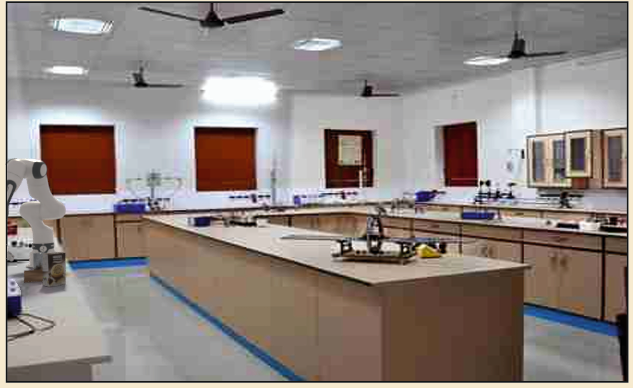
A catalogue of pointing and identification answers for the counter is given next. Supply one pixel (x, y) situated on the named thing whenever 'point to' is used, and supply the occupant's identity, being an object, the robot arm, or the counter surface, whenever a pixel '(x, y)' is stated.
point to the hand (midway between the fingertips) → (13, 259)
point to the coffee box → (54, 269)
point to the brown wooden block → (33, 276)
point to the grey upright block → (38, 261)
